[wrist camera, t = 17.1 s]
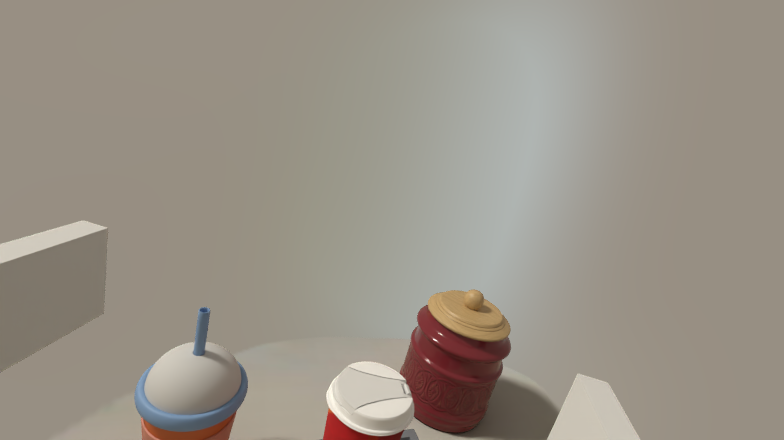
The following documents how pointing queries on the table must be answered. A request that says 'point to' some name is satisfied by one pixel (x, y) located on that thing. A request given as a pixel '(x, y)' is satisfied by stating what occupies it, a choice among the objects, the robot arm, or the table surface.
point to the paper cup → (368, 404)
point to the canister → (455, 359)
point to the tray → (408, 435)
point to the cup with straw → (191, 391)
